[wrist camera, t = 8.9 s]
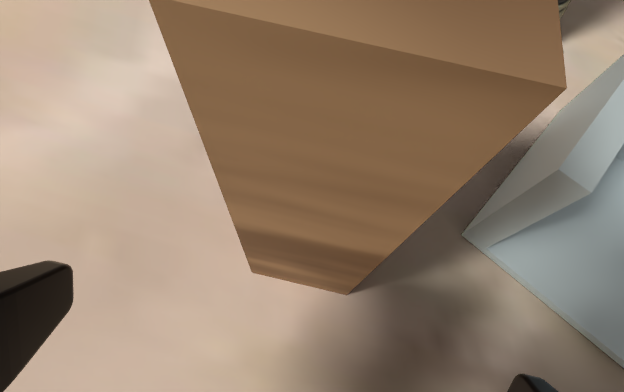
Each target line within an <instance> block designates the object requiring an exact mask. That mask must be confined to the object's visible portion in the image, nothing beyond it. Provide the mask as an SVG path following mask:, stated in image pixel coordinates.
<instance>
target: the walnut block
mask: <svg viewBox="0 0 624 392" xmlns="http://www.w3.org/2000/svg"><path fill="white" fill-rule="evenodd" d="M149 1H150V4H151V7H152V9H153V12H154V15H155V17H156V20H157V23H158V25H159V28H160V30H161V33H162V36H163V38H164V41H165V44H166V46H167V49H168V52H169V54H170V57H171V60H172V62H173V65H174V67H175V70H176V73H177V75H178V78H179V81H180V83H181V86H182V89H183V91H184V94H185V97H186V99H187V102H188V104H189V107H190V110H191V112H192V115H193V118H194V120H195V123H196V126H197V128H198V131H199V134H200V136H201V139H202V141H203V144H204V147H205V149H206V152H207V155H208V157H209V160H210V163H211V165H212V168H213V171H214V173H215V176H216V178H217V181H218V184H219V186H220V189H221V192H222V194H223V197H224V200H225V202H226V205H227V208H228V210H229V213H230V215H231V218H232V221H233V223H234V226H235V229H236V231H237V234H238V237H239V239H240V242H241V245H242V247H243V250H244V252H245V255H246V258H247V260H248V263H249V266H250V268H251V271H252V272H253V273H257V274H261V275H265V276H269V277H273V278H278V279H282V280H286V281H290V282H294V283H299V284H303V285H307V286H311V287H315V288H319V289H324V290H328V291H332V292H336V293H340V294H345V295H347V294H348V293H349V292H350V291H351V290H353V289H354V288H355V287H356V286H357V285H358V284H359V283H360V282H361V281H362V280H363V279H364V278H365V277H366V276H367V275H368V274H370V273H371V272H372V271H373V270H374V269H375V268H376V267H377V266H378V265H379V264H380V263H381V262H382V261H383V260H384V259H386V258H387V257H388V256H389V255H390V254H391V253H392V252H393V251H394V250H395V249H396V248H397V247H398V246H399V245H400V244H401V243H403V242H404V241H405V240H406V239H407V238H408V237H409V236H410V235H411V234H412V233H413V232H414V231H415V230H416V229H417V228H419V227H420V226H421V225H422V224H423V223H424V222H425V221H426V220H427V219H428V218H429V217H430V216H431V215H432V214H433V213H434V212H436V211H437V210H438V209H439V208H440V207H441V206H442V205H443V204H444V203H445V202H446V201H447V200H448V199H449V198H450V197H452V196H453V195H454V194H455V193H456V192H457V191H458V190H459V189H460V188H461V187H462V186H463V185H464V184H465V183H466V182H467V181H469V180H470V179H471V178H472V177H473V176H474V175H475V174H476V173H477V172H478V171H479V170H480V169H481V168H482V167H483V166H484V165H486V164H487V163H488V162H489V161H490V160H491V159H492V158H493V157H494V156H495V155H496V154H497V153H498V152H499V151H500V150H502V149H503V148H504V147H505V146H506V145H507V144H508V143H509V142H510V141H511V140H512V139H513V138H514V137H515V136H516V135H517V134H519V133H520V132H521V131H522V130H523V129H524V128H525V127H526V126H527V125H528V124H529V123H530V122H531V121H532V120H533V119H535V118H536V117H537V116H538V115H539V114H540V113H541V112H542V111H543V110H544V109H545V108H546V107H547V106H548V105H549V104H550V103H552V102H553V101H554V100H555V99H556V98H557V97H558V96H559V95H560V94H561V93H562V92H563V91H564V90H565V89H566V88H567V86H566V76H565V66H564V56H563V47H562V37H561V27H560V18H559V8H558V0H149Z"/></svg>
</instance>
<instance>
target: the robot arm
mask: <svg viewBox="0 0 624 392" xmlns="http://www.w3.org/2000/svg"><path fill="white" fill-rule="evenodd" d="M72 303H73V270H72V268H71V266H69V265H68V264H64V263H60V262H56V261H43V262H39V263H35V264H31V265H27V266H23V267H19V268H15V269H11V270H7V271H2V272H0V392H3V391H4V390H5V389H6V388H7V387H8V386H9V385H10V384H11V383H12V381H13V380H14V379H15V378H16V377H17V375H18V374H19V373H20V372H21V371H22V370H23V368H24V367H25V366H26V365H27V363H28V362H29V361H30V359H31V358H32V357H33V356H34V354H35V353H36V352H37V351H38V349H39V348H40V347H41V346H42V344H43V343H44V342H45V341H46V339H47V338H48V337H49V335H50V334H51V333H52V332H53V330H54V329H55V328H56V327H57V325H58V324H59V323H60V322H61V320H62V319H63V318H64V317H65V315H66V314H67V313H68V311H69V310H70V308H71V306H72ZM507 392H558V391H557V390H556V389H554V388H553V387H552V386H551V385H550V384H548V383H547V382H546V381H545V380H543V379H541V378H539V377H535V376H531V375H526V374H518V375H517V376H516V377H515V378H514V380H513V382H512V384H511V385H510V387H509V389H508V391H507Z"/></svg>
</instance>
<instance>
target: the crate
mask: <svg viewBox="0 0 624 392" xmlns="http://www.w3.org/2000/svg"><path fill="white" fill-rule="evenodd" d="M461 235H462V236H463V237H464V238H466V239H467V240H468V241H469V242H471V243H472V244H473V245H474V246H475V247H477V248H478V249H479V250H480V251H482V252H483V253H484V254H485V255H486V256H488V257H489V258H490V259H491V260H492V261H494V262H495V263H496V264H497V265H499V266H500V267H501V268H502V269H503V270H505V271H506V272H507V273H508V274H510V275H511V276H512V277H513V278H514V279H516V280H517V281H518V282H519V283H520V284H522V285H523V286H524V287H525V288H527V289H528V290H529V291H530V292H531V293H533V294H534V295H535V296H536V297H538V298H539V299H540V300H541V301H542V302H544V303H545V304H546V305H547V306H548V307H550V308H551V309H552V310H553V311H555V312H556V313H557V314H558V315H559V316H561V317H562V318H563V319H564V320H566V321H567V322H568V323H569V324H570V325H572V326H573V327H574V328H575V329H577V330H578V331H579V332H580V333H581V334H583V335H584V336H585V337H586V338H587V339H589V340H590V341H591V342H592V343H594V344H595V345H596V346H597V347H598V348H600V349H601V350H602V351H603V352H605V353H606V354H607V355H608V356H609V357H611V358H612V359H613V360H614V361H615V362H617V363H618V364H619V365H620V366H622V367H623V368H624V55H623V56H621V57H620V58H619V59H618V60H617V61H616V62H615V63H613V64H612V65H611V66H610V67H609V68H608V69H607V70H605V71H604V72H603V73H602V74H601V75H600V76H599V77H598V78H596V79H595V80H594V81H593V82H592V83H591V84H590V85H588V86H587V87H586V88H585V89H584V90H583V91H582V92H581V93H579V94H578V95H577V96H576V97H575V98H574V99H573V100H571V101H570V102H569V103H568V104H567V105H566V106H565V107H564V108H562V109H561V110H560V111H559V112H558V114H557V115H556V116H555V117H554V119H553V120H552V121H551V123H550V124H549V125H548V126H547V128H546V129H545V130H544V131H543V133H542V134H541V135H540V136H539V138H538V139H537V140H536V141H535V143H534V144H533V145H532V146H531V148H530V149H529V150H528V151H527V153H526V154H525V155H524V156H523V158H522V159H521V160H520V161H519V163H518V164H517V165H516V166H515V168H514V169H513V170H512V172H511V173H510V174H509V175H508V177H507V178H506V179H505V180H504V182H503V183H502V184H501V185H500V187H499V188H498V189H497V190H496V192H495V193H494V194H493V195H492V197H491V198H490V199H489V200H488V202H487V203H486V204H485V205H484V207H483V208H482V209H481V210H480V212H479V213H478V214H477V215H476V217H475V218H474V219H473V221H472V222H471V223H470V224H469V226H468V227H467V228H466V229H465V231H464V232H463V233H462V234H461Z"/></svg>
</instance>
